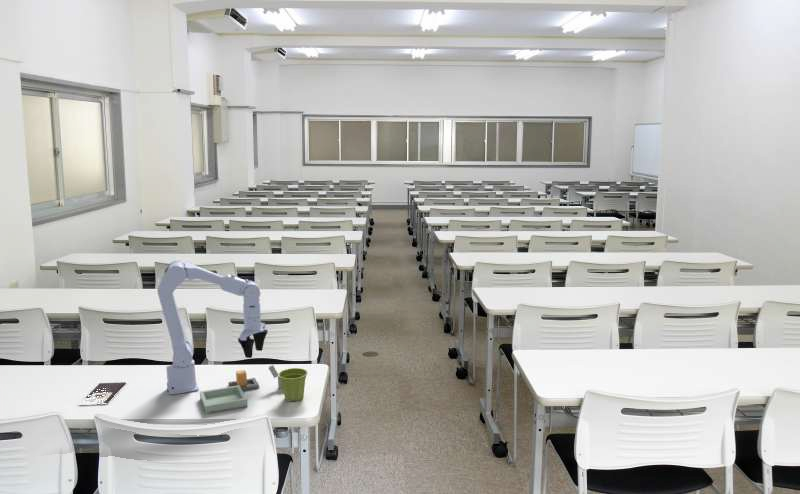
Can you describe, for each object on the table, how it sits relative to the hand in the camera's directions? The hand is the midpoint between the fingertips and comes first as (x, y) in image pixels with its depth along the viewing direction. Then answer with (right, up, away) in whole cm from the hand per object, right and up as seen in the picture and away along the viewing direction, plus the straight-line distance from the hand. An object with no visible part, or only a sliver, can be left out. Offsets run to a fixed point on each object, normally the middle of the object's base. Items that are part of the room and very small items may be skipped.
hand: (254, 353), depth 241 cm
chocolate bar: (-49, -13, -8) cm, 52 cm away
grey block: (+10, -11, -5) cm, 16 cm away
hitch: (-3, -11, -4) cm, 12 cm away
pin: (-3, -11, -4) cm, 12 cm away
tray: (-6, -13, -17) cm, 22 cm away
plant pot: (+16, -13, -14) cm, 25 cm away
